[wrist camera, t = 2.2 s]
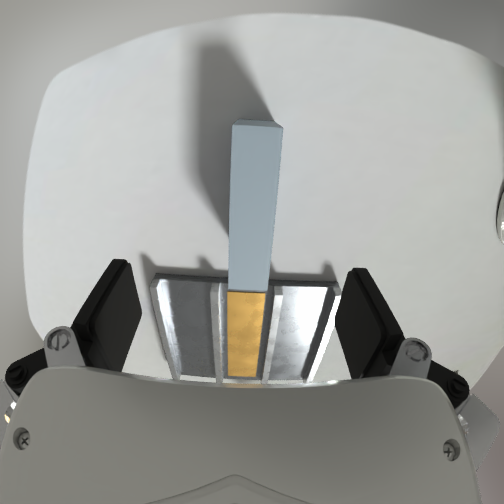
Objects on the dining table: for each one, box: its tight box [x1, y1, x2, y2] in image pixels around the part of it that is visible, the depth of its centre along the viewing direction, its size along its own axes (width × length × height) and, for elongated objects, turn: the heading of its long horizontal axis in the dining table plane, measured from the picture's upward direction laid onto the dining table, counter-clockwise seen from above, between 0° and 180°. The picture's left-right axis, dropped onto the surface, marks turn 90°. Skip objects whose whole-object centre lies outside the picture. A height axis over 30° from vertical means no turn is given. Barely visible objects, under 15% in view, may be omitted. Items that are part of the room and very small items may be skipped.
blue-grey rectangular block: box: [228, 119, 283, 291], centre depth 21 cm, size 3×12×7 cm, turn 177°
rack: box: [149, 273, 342, 384], centre depth 32 cm, size 20×18×2 cm
